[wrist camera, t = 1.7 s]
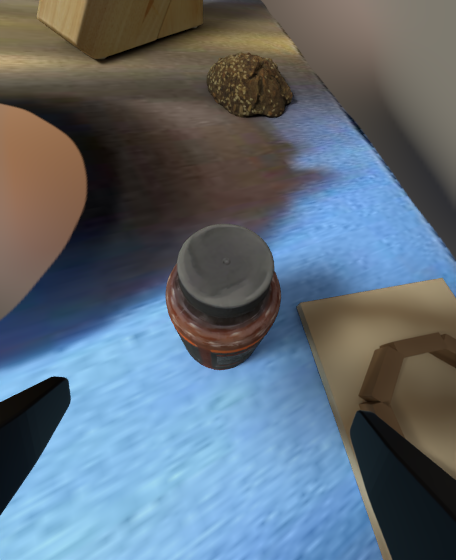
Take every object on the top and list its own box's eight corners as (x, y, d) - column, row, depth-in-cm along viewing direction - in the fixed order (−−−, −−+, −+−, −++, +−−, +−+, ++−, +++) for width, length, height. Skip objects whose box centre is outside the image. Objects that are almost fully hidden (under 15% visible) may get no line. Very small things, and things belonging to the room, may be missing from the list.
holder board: (623, 578, 14) (702, 613, 12) (419, 665, 12) (467, 727, 10) (433, 282, 23) (458, 269, 20) (296, 306, 21) (306, 295, 19)
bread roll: (200, 79, 38) (199, 37, 33) (271, 72, 40) (279, 32, 36) (224, 127, 33) (225, 84, 28) (304, 116, 35) (317, 75, 30)
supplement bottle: (271, 332, 20) (330, 263, 10) (220, 388, 18) (230, 375, 8) (220, 286, 21) (225, 186, 11) (168, 332, 19) (119, 260, 9)
